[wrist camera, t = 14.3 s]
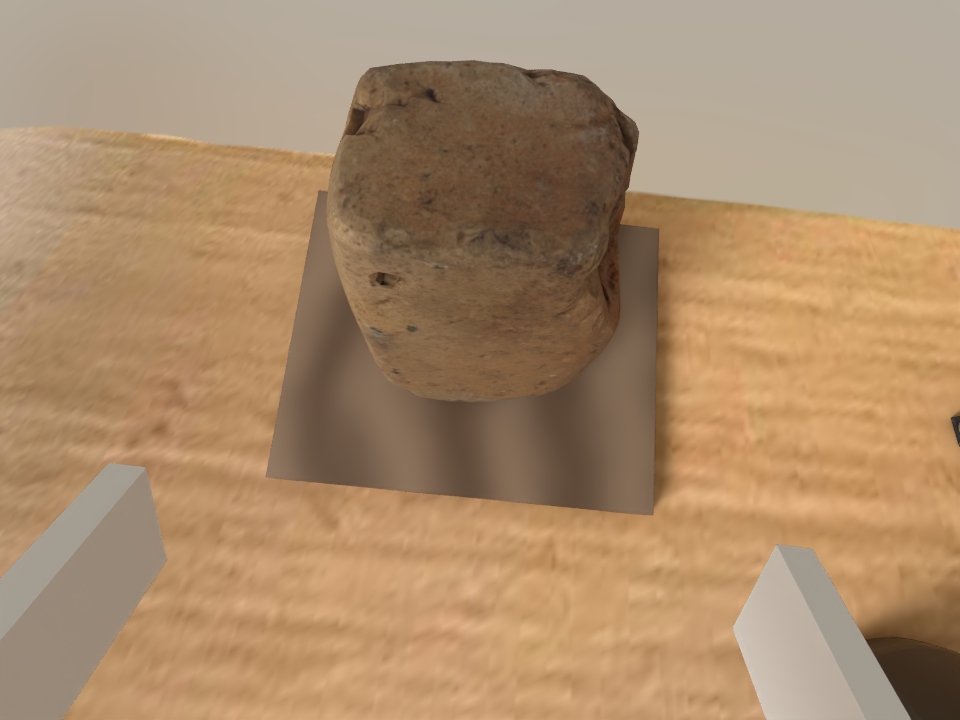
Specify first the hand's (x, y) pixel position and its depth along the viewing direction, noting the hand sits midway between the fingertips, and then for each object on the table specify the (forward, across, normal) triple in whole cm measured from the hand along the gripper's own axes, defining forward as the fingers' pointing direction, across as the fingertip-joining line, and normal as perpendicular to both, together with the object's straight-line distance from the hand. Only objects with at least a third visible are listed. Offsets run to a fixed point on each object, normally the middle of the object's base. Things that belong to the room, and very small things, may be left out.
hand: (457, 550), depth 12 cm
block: (+22, 0, -7) cm, 23 cm away
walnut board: (+23, 0, -8) cm, 24 cm away
